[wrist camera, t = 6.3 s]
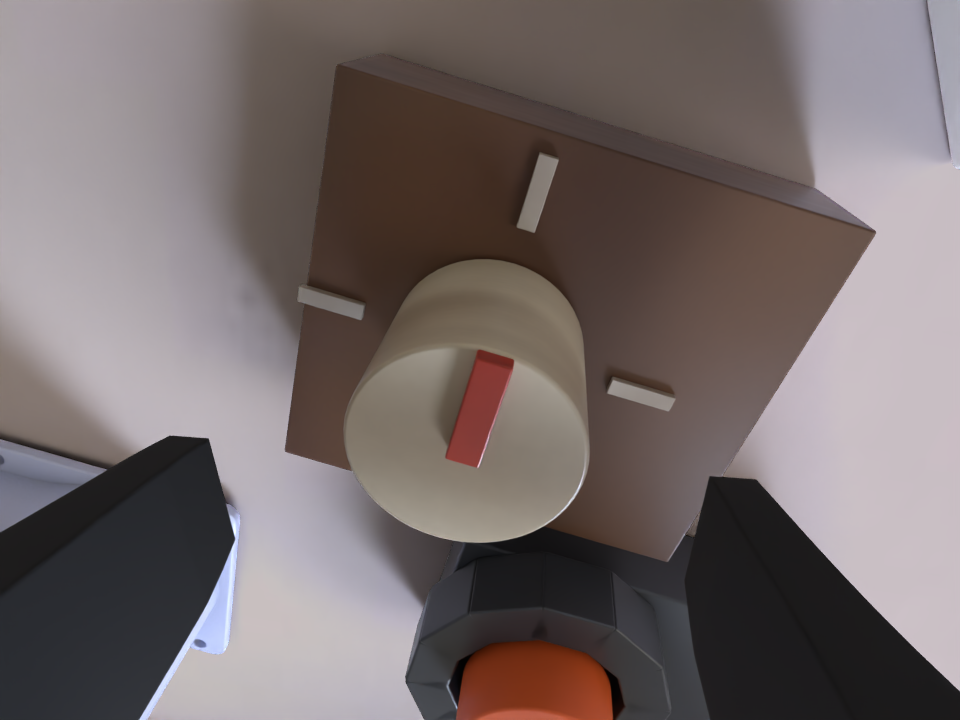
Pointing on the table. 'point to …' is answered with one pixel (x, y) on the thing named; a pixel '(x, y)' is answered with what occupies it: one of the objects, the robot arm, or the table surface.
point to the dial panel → (570, 275)
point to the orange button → (533, 684)
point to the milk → (948, 65)
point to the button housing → (563, 620)
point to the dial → (474, 406)
